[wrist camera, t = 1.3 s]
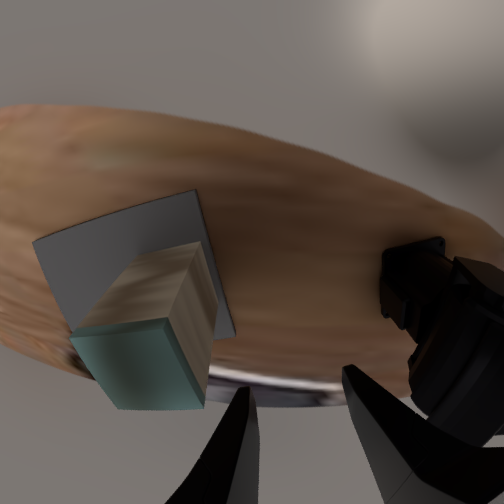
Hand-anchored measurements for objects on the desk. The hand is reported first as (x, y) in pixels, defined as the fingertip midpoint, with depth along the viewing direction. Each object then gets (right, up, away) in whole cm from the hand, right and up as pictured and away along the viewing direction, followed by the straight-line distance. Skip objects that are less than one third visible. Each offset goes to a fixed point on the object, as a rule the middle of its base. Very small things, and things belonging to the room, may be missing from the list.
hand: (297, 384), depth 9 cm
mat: (-12, +2, +12) cm, 17 cm away
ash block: (-7, +3, +11) cm, 13 cm away
